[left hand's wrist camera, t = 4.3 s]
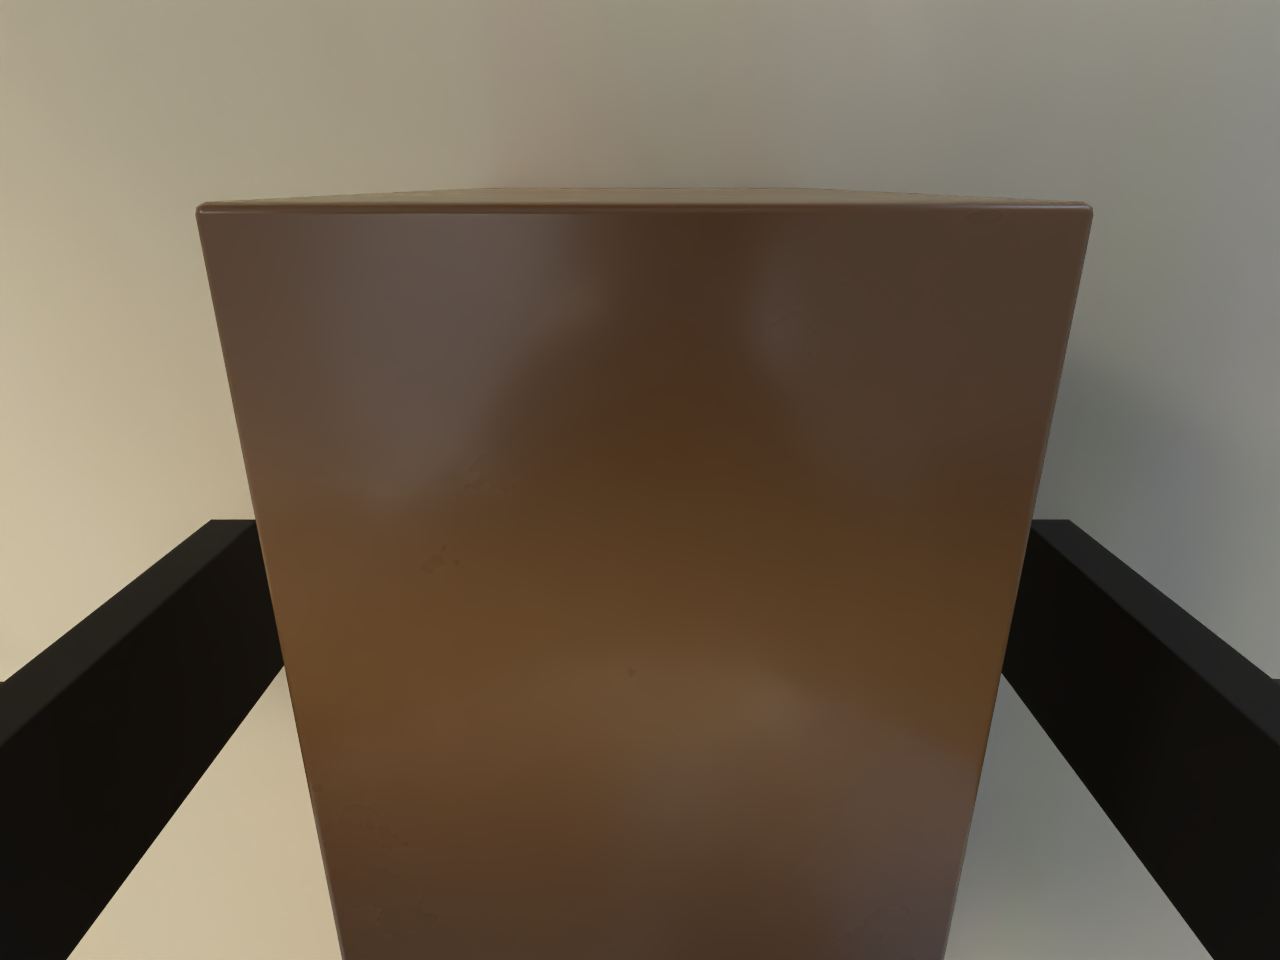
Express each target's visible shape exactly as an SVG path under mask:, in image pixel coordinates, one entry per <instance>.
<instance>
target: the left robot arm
mask: <svg viewBox="0 0 1280 960" xmlns="http://www.w3.org/2000/svg"><path fill="white" fill-rule="evenodd" d="M283 666H284V661H283V656H282V651H281V646H280V641H279V636H278V631H277V625H276V620H275V615H274V610H273V605H272V600H271V595H270V590H269V585H268V580H267V575H266V570H265V565H264V560H263V554H262V549H261V544H260V539H259V534H258V529H257V524H256V520H210V521H209V522H207V523H206V524H205V525H204V526H202V527H201V528H200V529H199V530H197V531H196V532H195V533H193V534H192V535H191V536H190V537H188V538H187V539H186V540H184V541H183V542H182V543H181V544H179V545H178V546H177V547H176V548H174V549H173V550H172V551H170V552H169V553H168V554H167V555H165V556H164V557H163V558H161V559H160V560H159V561H158V562H156V563H155V564H154V565H153V566H151V567H150V568H149V569H147V570H146V571H145V572H144V573H142V574H141V575H140V576H139V577H137V578H136V579H135V580H133V581H132V582H131V583H130V584H128V585H127V586H126V587H124V588H123V589H122V590H121V591H119V592H118V593H117V594H116V595H114V596H113V597H112V598H110V599H109V600H108V601H107V602H105V603H104V604H103V605H101V606H100V607H99V608H98V609H96V610H95V611H94V612H93V613H91V614H90V615H89V616H87V617H86V618H85V619H84V620H82V621H81V622H80V623H79V624H77V625H76V626H75V627H73V628H72V629H71V630H70V631H68V632H67V633H66V634H64V635H63V636H62V637H61V638H59V639H58V640H57V641H56V642H54V643H53V644H52V645H50V646H49V647H48V648H47V649H45V650H44V651H43V652H42V653H40V654H39V655H38V656H36V657H35V658H34V659H33V660H31V661H30V662H29V663H27V664H26V665H25V666H24V667H22V668H21V669H20V670H19V671H17V672H16V673H15V674H13V675H12V676H11V677H10V678H8V679H7V680H6V681H4V682H0V960H66V959H67V958H68V957H69V955H70V954H71V953H72V951H73V950H74V949H75V947H76V946H77V944H78V943H79V942H80V940H81V939H82V938H83V936H84V935H85V934H86V932H87V931H88V930H89V928H90V927H91V926H92V924H93V923H94V921H95V920H96V919H97V917H98V916H99V915H100V913H101V912H102V911H103V909H104V908H105V907H106V905H107V904H108V903H109V901H110V900H111V898H112V897H113V896H114V894H115V893H116V892H117V890H118V889H119V888H120V886H121V885H122V884H123V882H124V881H125V880H126V878H127V877H128V875H129V874H130V873H131V871H132V870H133V869H134V867H135V866H136V865H137V863H138V862H139V861H140V859H141V858H142V857H143V855H144V854H145V852H146V851H147V850H148V848H149V847H150V846H151V844H152V843H153V842H154V840H155V839H156V838H157V836H158V835H159V834H160V832H161V831H162V829H163V828H164V827H165V825H166V824H167V823H168V821H169V820H170V819H171V817H172V816H173V815H174V813H175V812H176V811H177V809H178V808H179V807H180V805H181V804H182V802H183V801H184V800H185V798H186V797H187V796H188V794H189V793H190V792H191V790H192V789H193V788H194V786H195V785H196V784H197V782H198V781H199V779H200V778H201V777H202V775H203V774H204V773H205V771H206V770H207V769H208V767H209V766H210V765H211V763H212V762H213V761H214V759H215V758H216V756H217V755H218V754H219V752H220V751H221V750H222V748H223V747H224V746H225V744H226V743H227V742H228V740H229V739H230V738H231V736H232V735H233V733H234V732H235V731H236V729H237V728H238V727H239V725H240V724H241V723H242V721H243V720H244V719H245V717H246V716H247V715H248V713H249V712H250V710H251V709H252V708H253V706H254V705H255V704H256V702H257V701H258V700H259V698H260V697H261V696H262V694H263V693H264V692H265V690H266V689H267V687H268V686H269V685H270V683H271V682H272V681H273V679H274V678H275V677H276V675H277V674H278V673H279V671H280V670H281V669H282V667H283ZM1001 673H1002V674H1003V675H1004V677H1005V678H1006V679H1007V681H1008V682H1009V683H1010V685H1011V686H1012V687H1013V689H1014V690H1015V692H1016V693H1017V694H1018V696H1019V697H1020V698H1021V700H1022V701H1023V702H1024V704H1025V705H1026V706H1027V708H1028V709H1029V710H1030V712H1031V713H1032V714H1033V716H1034V717H1035V719H1036V720H1037V721H1038V723H1039V724H1040V725H1041V727H1042V728H1043V729H1044V731H1045V732H1046V733H1047V735H1048V736H1049V737H1050V739H1051V740H1052V742H1053V743H1054V744H1055V746H1056V747H1057V748H1058V750H1059V751H1060V752H1061V754H1062V755H1063V756H1064V758H1065V759H1066V760H1067V762H1068V763H1069V765H1070V766H1071V767H1072V769H1073V770H1074V771H1075V773H1076V774H1077V775H1078V777H1079V778H1080V779H1081V781H1082V782H1083V783H1084V785H1085V786H1086V788H1087V789H1088V790H1089V792H1090V793H1091V794H1092V796H1093V797H1094V798H1095V800H1096V801H1097V802H1098V804H1099V805H1100V806H1101V808H1102V809H1103V811H1104V812H1105V813H1106V815H1107V816H1108V817H1109V819H1110V820H1111V821H1112V823H1113V824H1114V825H1115V827H1116V828H1117V829H1118V831H1119V832H1120V834H1121V835H1122V836H1123V838H1124V839H1125V840H1126V842H1127V843H1128V844H1129V846H1130V847H1131V848H1132V850H1133V851H1134V852H1135V854H1136V855H1137V857H1138V858H1139V859H1140V861H1141V862H1142V863H1143V865H1144V866H1145V867H1146V869H1147V870H1148V871H1149V873H1150V874H1151V875H1152V877H1153V878H1154V880H1155V881H1156V882H1157V884H1158V885H1159V886H1160V888H1161V889H1162V890H1163V892H1164V893H1165V894H1166V896H1167V897H1168V898H1169V900H1170V901H1171V903H1172V904H1173V905H1174V907H1175V908H1176V909H1177V911H1178V912H1179V913H1180V915H1181V916H1182V917H1183V919H1184V920H1185V921H1186V923H1187V924H1188V925H1189V927H1190V928H1191V930H1192V931H1193V932H1194V934H1195V935H1196V936H1197V938H1198V939H1199V940H1200V942H1201V943H1202V944H1203V946H1204V947H1205V948H1206V950H1207V951H1208V953H1209V954H1210V955H1211V957H1212V958H1213V959H1214V960H1280V679H1272V678H1270V677H1269V676H1268V675H1267V674H1265V673H1264V672H1263V671H1261V670H1260V669H1259V668H1258V667H1256V666H1255V665H1254V664H1253V663H1251V662H1250V661H1249V660H1247V659H1246V658H1245V657H1244V656H1242V655H1241V654H1240V653H1239V652H1237V651H1236V650H1235V649H1233V648H1232V647H1231V646H1230V645H1228V644H1227V643H1226V642H1224V641H1223V640H1222V639H1221V638H1219V637H1218V636H1217V635H1216V634H1214V633H1213V632H1212V631H1210V630H1209V629H1208V628H1207V627H1205V626H1204V625H1203V624H1202V623H1200V622H1199V621H1198V620H1196V619H1195V618H1194V617H1193V616H1191V615H1190V614H1189V613H1187V612H1186V611H1185V610H1184V609H1182V608H1181V607H1180V606H1179V605H1177V604H1176V603H1175V602H1173V601H1172V600H1171V599H1170V598H1168V597H1167V596H1166V595H1164V594H1163V593H1162V592H1161V591H1159V590H1158V589H1157V588H1156V587H1154V586H1153V585H1152V584H1150V583H1149V582H1148V581H1147V580H1145V579H1144V578H1143V577H1142V576H1140V575H1139V574H1138V573H1136V572H1135V571H1134V570H1133V569H1131V568H1130V567H1129V566H1127V565H1126V564H1125V563H1124V562H1122V561H1121V560H1120V559H1119V558H1117V557H1116V556H1115V555H1113V554H1112V553H1111V552H1110V551H1108V550H1107V549H1106V548H1104V547H1103V546H1102V545H1101V544H1099V543H1098V542H1097V541H1096V540H1094V539H1093V538H1092V537H1090V536H1089V535H1088V534H1087V533H1085V532H1084V531H1083V530H1082V529H1080V528H1079V527H1078V526H1076V525H1075V524H1074V523H1073V522H1071V521H1070V520H1032V522H1031V527H1030V532H1029V537H1028V542H1027V547H1026V552H1025V557H1024V562H1023V567H1022V572H1021V577H1020V582H1019V587H1018V592H1017V597H1016V602H1015V607H1014V612H1013V617H1012V622H1011V627H1010V632H1009V637H1008V642H1007V647H1006V652H1005V657H1004V662H1003V667H1002V671H1001Z"/></svg>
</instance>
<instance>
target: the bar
mask: <svg viewBox="0 0 1280 960" xmlns="http://www.w3.org/2000/svg"><path fill="white" fill-rule="evenodd" d="M1092 219H1093V209H1092V207H1091V206H1090V205H1088V204H1086V203H1084V202H1074V201H1053V200H1033V199H1013V198H993V197H972V196H952V195H932V194H911V193H891V192H871V191H850V190H830V189H810V188H475V189H455V190H435V191H415V192H395V193H375V194H355V195H335V196H315V197H295V198H275V199H255V200H235V201H215V202H205V203H203V204H201V205H199V206H197V207H196V220H197V225H198V230H199V235H200V240H201V245H202V250H203V255H204V260H205V265H206V270H207V276H208V281H209V286H210V291H211V296H212V301H213V306H214V311H215V316H216V321H217V326H218V331H219V336H220V341H221V347H222V352H223V357H224V362H225V367H226V372H227V377H228V382H229V387H230V392H231V397H232V402H233V407H234V412H235V418H236V423H237V428H238V433H239V438H240V443H241V448H242V453H243V458H244V463H245V468H246V473H247V478H248V483H249V489H250V494H251V499H252V504H253V509H254V514H255V519H256V524H257V529H258V534H259V539H260V544H261V549H262V554H263V560H264V565H265V570H266V575H267V580H268V585H269V590H270V595H271V600H272V605H273V610H274V615H275V620H276V625H277V631H278V636H279V641H280V646H281V651H282V656H283V661H284V666H285V671H286V676H287V681H288V686H289V691H290V697H291V702H292V707H293V712H294V717H295V722H296V727H297V732H298V737H299V742H300V747H301V752H302V757H303V762H304V768H305V773H306V778H307V783H308V788H309V793H310V798H311V803H312V808H313V813H314V818H315V823H316V828H317V833H318V839H319V844H320V849H321V854H322V859H323V864H324V869H325V874H326V879H327V884H328V889H329V894H330V899H331V904H332V910H333V915H334V920H335V925H336V930H337V935H338V940H339V945H340V950H341V955H342V960H944V955H945V950H946V945H947V940H948V935H949V930H950V925H951V920H952V915H953V910H954V905H955V900H956V895H957V890H958V885H959V881H960V876H961V871H962V866H963V861H964V856H965V851H966V846H967V841H968V836H969V831H970V826H971V821H972V816H973V811H974V806H975V801H976V796H977V791H978V786H979V781H980V776H981V771H982V766H983V761H984V756H985V751H986V746H987V741H988V736H989V731H990V726H991V721H992V716H993V711H994V706H995V701H996V696H997V691H998V686H999V681H1000V676H1001V671H1002V667H1003V662H1004V657H1005V652H1006V647H1007V642H1008V637H1009V632H1010V627H1011V622H1012V617H1013V612H1014V607H1015V602H1016V597H1017V592H1018V587H1019V582H1020V577H1021V572H1022V567H1023V562H1024V557H1025V552H1026V547H1027V542H1028V537H1029V532H1030V527H1031V522H1032V517H1033V512H1034V507H1035V502H1036V497H1037V492H1038V487H1039V482H1040V477H1041V472H1042V467H1043V462H1044V457H1045V453H1046V448H1047V443H1048V438H1049V433H1050V428H1051V423H1052V418H1053V413H1054V408H1055V403H1056V398H1057V393H1058V388H1059V383H1060V378H1061V373H1062V368H1063V363H1064V358H1065V353H1066V348H1067V343H1068V338H1069V333H1070V328H1071V323H1072V318H1073V313H1074V308H1075V303H1076V298H1077V293H1078V288H1079V283H1080V278H1081V273H1082V268H1083V263H1084V258H1085V253H1086V248H1087V243H1088V239H1089V234H1090V229H1091V224H1092Z"/></svg>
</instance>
